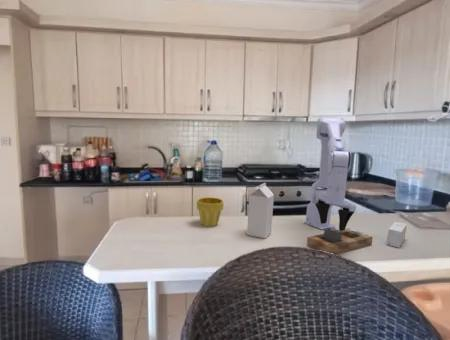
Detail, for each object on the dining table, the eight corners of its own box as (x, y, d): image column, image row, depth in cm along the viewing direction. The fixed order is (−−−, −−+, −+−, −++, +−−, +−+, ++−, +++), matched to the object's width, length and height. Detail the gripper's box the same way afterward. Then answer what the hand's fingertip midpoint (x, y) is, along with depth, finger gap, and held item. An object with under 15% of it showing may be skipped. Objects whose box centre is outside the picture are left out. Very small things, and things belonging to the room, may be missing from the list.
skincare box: (405, 239, 121) (399, 248, 111) (392, 236, 123) (385, 245, 114) (407, 223, 120) (401, 231, 110) (394, 221, 122) (388, 228, 113)
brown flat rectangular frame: (306, 245, 109) (307, 236, 109) (347, 235, 121) (348, 227, 121) (330, 256, 101) (331, 246, 101) (371, 244, 113) (372, 235, 112)
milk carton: (271, 233, 120) (274, 183, 117) (265, 239, 114) (269, 186, 111) (253, 229, 123) (256, 181, 120) (246, 235, 117) (249, 184, 114)
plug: (322, 246, 109) (324, 226, 108) (330, 244, 112) (332, 225, 111) (332, 250, 106) (334, 230, 105) (340, 248, 108) (342, 228, 107)
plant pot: (206, 230, 120) (207, 204, 119) (191, 222, 128) (192, 198, 126) (227, 225, 126) (228, 201, 125) (212, 218, 134) (213, 196, 133)
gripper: (311, 183, 109) (307, 221, 111) (347, 192, 97) (343, 235, 99) (325, 182, 113) (321, 219, 115) (361, 190, 101) (357, 231, 103)
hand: (332, 226), depth 107 cm, fingers open, 7 cm apart
